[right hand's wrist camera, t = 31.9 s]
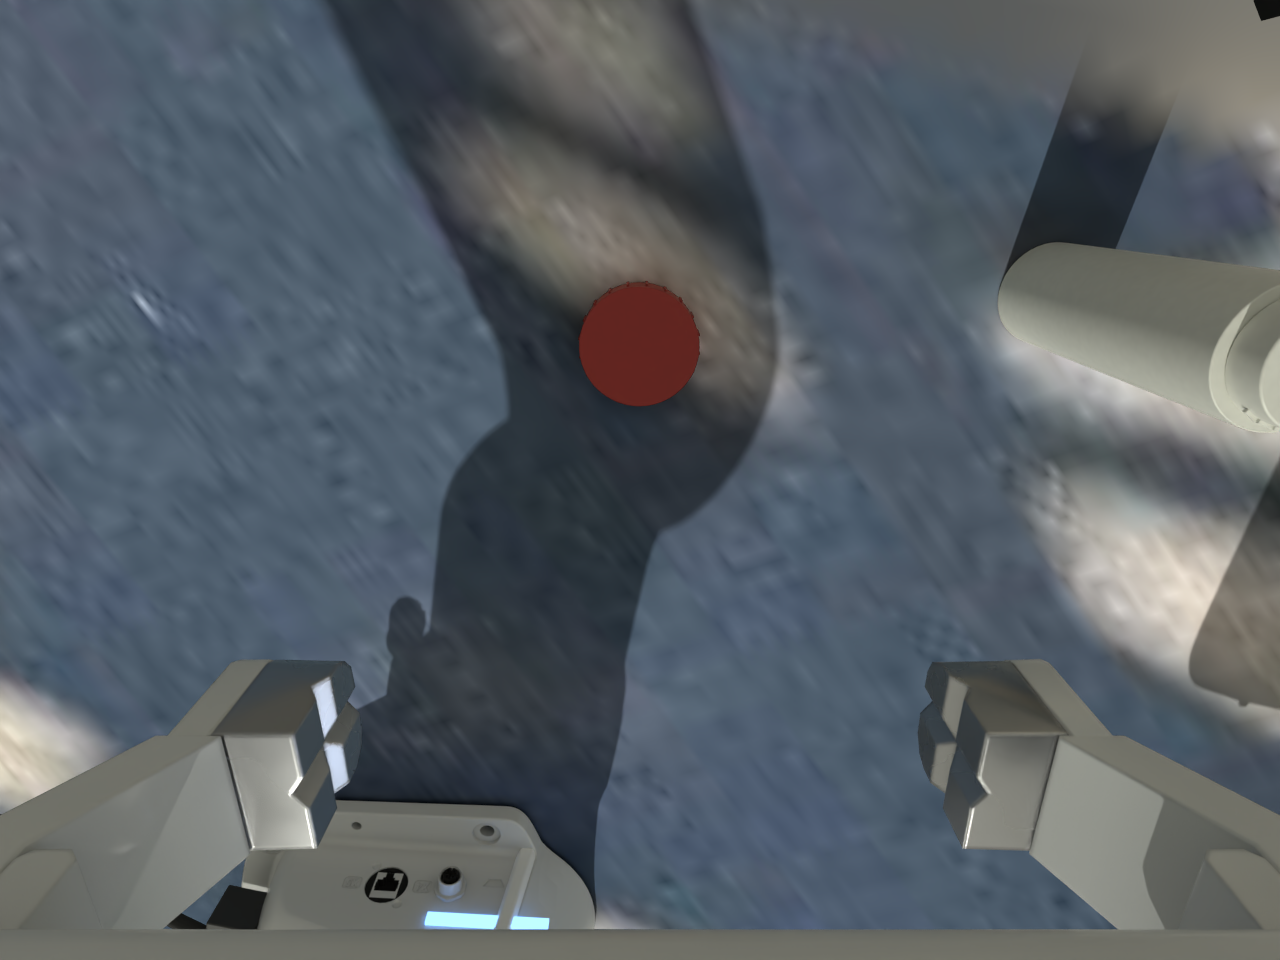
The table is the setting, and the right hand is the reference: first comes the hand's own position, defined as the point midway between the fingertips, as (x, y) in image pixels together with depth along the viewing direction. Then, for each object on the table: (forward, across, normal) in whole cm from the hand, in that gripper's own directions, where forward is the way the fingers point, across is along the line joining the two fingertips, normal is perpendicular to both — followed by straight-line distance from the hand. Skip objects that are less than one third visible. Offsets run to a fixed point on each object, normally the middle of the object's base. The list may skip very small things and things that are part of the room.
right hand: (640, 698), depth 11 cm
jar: (+27, +19, +2) cm, 33 cm away
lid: (+25, 0, 0) cm, 25 cm away
